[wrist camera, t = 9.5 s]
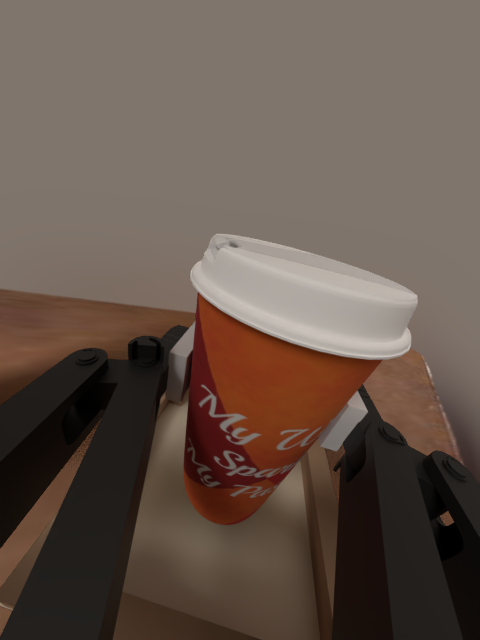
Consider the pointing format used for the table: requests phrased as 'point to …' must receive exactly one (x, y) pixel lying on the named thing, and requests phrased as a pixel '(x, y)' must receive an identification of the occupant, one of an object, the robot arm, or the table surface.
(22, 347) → the table surface
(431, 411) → the table surface
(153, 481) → the keyhole slot
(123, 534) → the robot arm
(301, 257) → the paper cup
